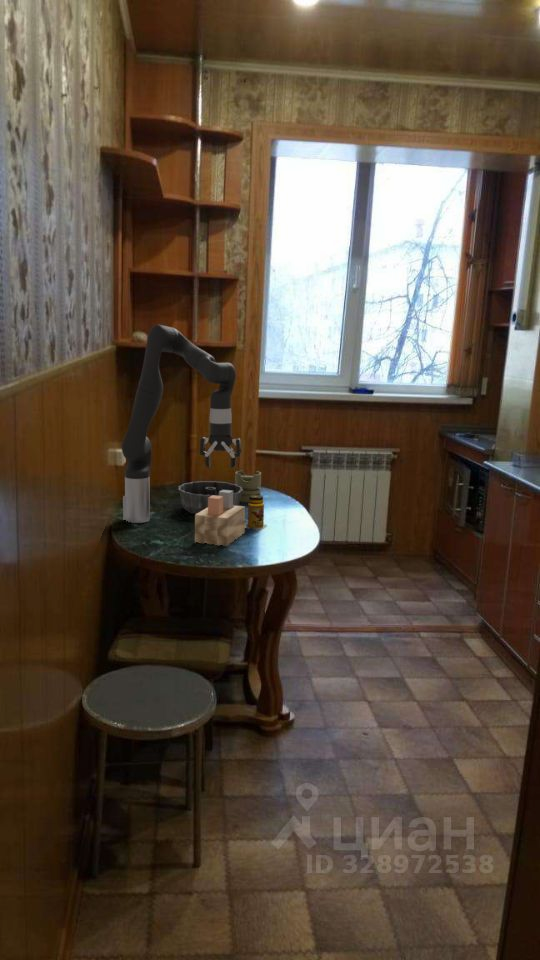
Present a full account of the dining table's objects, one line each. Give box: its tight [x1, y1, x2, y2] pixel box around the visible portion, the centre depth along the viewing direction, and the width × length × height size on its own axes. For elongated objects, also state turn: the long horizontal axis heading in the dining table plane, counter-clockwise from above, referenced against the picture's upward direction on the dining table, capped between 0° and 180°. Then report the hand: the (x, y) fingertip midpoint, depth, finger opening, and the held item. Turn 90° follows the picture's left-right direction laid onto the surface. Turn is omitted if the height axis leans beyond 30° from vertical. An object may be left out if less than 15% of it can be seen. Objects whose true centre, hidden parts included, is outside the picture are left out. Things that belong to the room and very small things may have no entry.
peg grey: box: [219, 490, 233, 510], centre depth 257 cm, size 4×4×8 cm
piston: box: [234, 470, 262, 503], centre depth 313 cm, size 11×12×11 cm
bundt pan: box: [178, 480, 243, 515], centre depth 291 cm, size 26×26×10 cm
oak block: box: [194, 505, 246, 547], centre depth 254 cm, size 12×18×10 cm, turn 162°
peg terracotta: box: [208, 495, 223, 516], centre depth 248 cm, size 4×4×8 cm
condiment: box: [245, 495, 267, 530], centre depth 270 cm, size 7×8×12 cm
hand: (220, 467), depth 247 cm, fingers open, 8 cm apart
